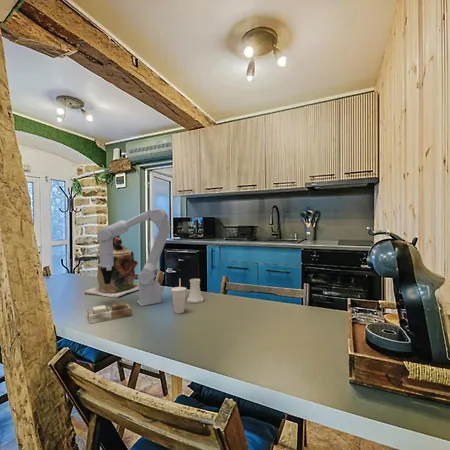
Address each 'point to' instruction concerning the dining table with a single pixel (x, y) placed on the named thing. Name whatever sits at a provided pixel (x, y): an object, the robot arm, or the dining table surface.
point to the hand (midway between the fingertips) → (107, 283)
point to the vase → (195, 292)
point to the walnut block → (118, 306)
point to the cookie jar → (117, 273)
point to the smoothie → (179, 297)
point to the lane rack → (109, 314)
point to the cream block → (99, 309)
